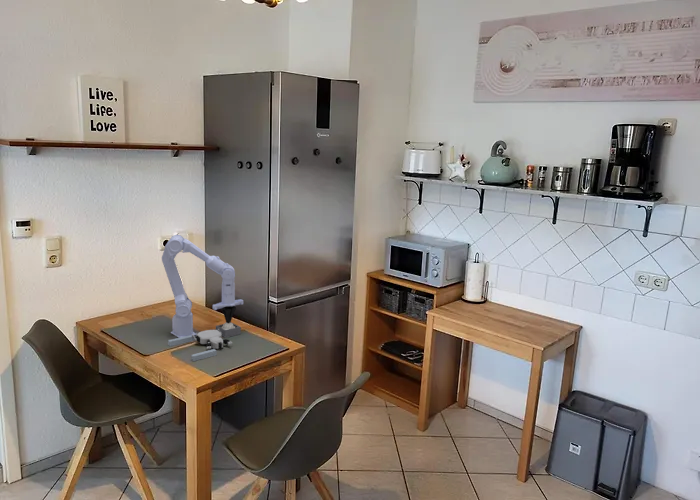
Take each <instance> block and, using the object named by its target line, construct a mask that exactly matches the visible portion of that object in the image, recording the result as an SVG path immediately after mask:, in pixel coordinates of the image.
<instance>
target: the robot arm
mask: <svg viewBox="0 0 700 500" xmlns="http://www.w3.org/2000/svg"><path fill="white" fill-rule="evenodd" d="M181 251H182V253H190V254H192V256H193V255H194V256H195V257H196V258H198V259H200V260H201V261H203V262H205V266H206V267H207V268H208V269H210V270H211V271H213V272H215V273H216V274H217V275H220V277H221V278H222V280H221V281H222V282H221V301H220V302H217V303H214V304H212V310H213V311H217V310H219V309H220V310H221V312H222V313H223V316H224V319H225V323H226V322H227V323H231V322H232V319H233V315H234V314H235V311H236V310H237V306H239V305H241V306H242V305H244V300H243V299H236V283H235V281H236V279H235V278H236V270H235V268H234V267H233V266H232V265H231V264H229V263H228V262H224V261H223V260H222V259H220V256H218V255H217V256H216V255H210V254H208V253H207V252H205V251H204V250H202V248H200V247H199V246H197V245H196V244H195V243H193V242H192V241H190V240H189V239H188V238H184V237H183V236H182V235H180V234H175V235H173V236H171V238H169V240H168V241H167V243H166V244H165V246H164V249H163V253H162V255H161V262H162V264H163V268H164V270H165V273H166V277H167V279H168V282H169V285H170V288H171V291H172V294H173V296H174V304H175V314H173V316H172V318H171V320H172V331H170V334H172V335H174V336H175V337H176V338H180V337H185V336H189V335H190V336H192V334H193V336H194V337H195V336H196V334H197V333H196V332H194V321H193V319H194V315H193V313H192V308H193V302H192V300H191V299H190V298H189V296H188V295H187V293H186V291H185V288H184V284H183V281H182V279H181V276H180V271H179V270H178V267H177V264H176V261H175V258H176V257H177V255H178V254H179V253H180V252H181ZM193 336H192V337H193Z"/></svg>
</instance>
